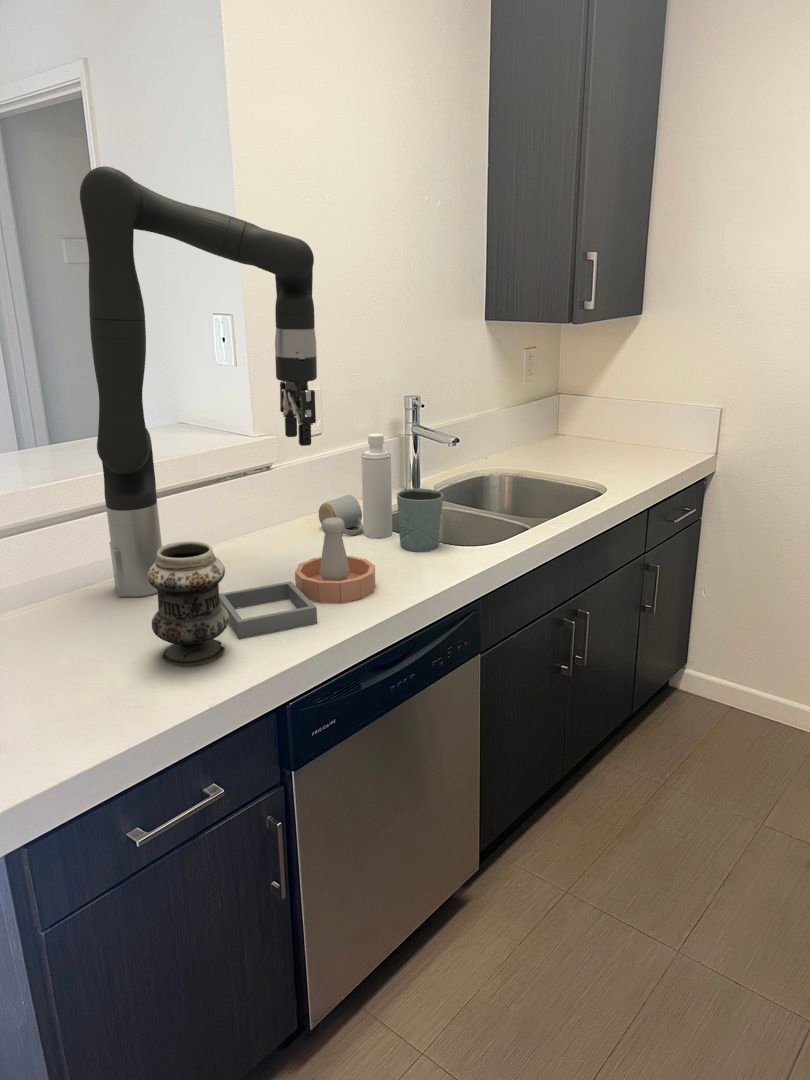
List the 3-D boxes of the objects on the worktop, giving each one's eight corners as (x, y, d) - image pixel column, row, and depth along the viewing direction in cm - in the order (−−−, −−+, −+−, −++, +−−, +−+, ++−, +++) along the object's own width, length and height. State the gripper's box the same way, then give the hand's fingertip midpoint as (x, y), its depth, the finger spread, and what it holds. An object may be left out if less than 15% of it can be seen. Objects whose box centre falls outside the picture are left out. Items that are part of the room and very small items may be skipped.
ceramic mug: (316, 528, 197) (315, 497, 194) (344, 521, 202) (343, 491, 199) (343, 540, 189) (342, 508, 187) (371, 532, 194) (370, 501, 192)
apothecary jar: (243, 657, 133) (234, 552, 127) (169, 677, 126) (156, 567, 121) (216, 631, 142) (207, 532, 137) (146, 648, 136) (133, 545, 130)
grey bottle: (369, 528, 196) (367, 424, 188) (396, 531, 194) (394, 425, 186) (359, 536, 191) (356, 429, 183) (386, 539, 188) (384, 431, 180)
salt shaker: (345, 589, 157) (343, 524, 153) (316, 587, 158) (313, 522, 154) (353, 578, 163) (351, 515, 158) (325, 576, 164) (322, 514, 160)
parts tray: (239, 638, 139) (237, 622, 138) (218, 609, 151) (217, 594, 150) (317, 623, 145) (316, 607, 144) (291, 595, 157) (291, 581, 156)
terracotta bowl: (312, 608, 151) (311, 588, 150) (287, 581, 164) (285, 562, 163) (387, 594, 157) (386, 574, 156) (356, 569, 170) (356, 551, 169)
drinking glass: (388, 544, 185) (387, 493, 181) (423, 535, 191) (423, 485, 187) (416, 556, 178) (416, 502, 174) (452, 546, 183) (452, 494, 179)
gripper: (265, 350, 156) (268, 435, 161) (287, 358, 144) (290, 449, 149) (303, 349, 159) (305, 433, 164) (328, 357, 147) (329, 446, 152)
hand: (298, 440), depth 157 cm, fingers open, 8 cm apart
